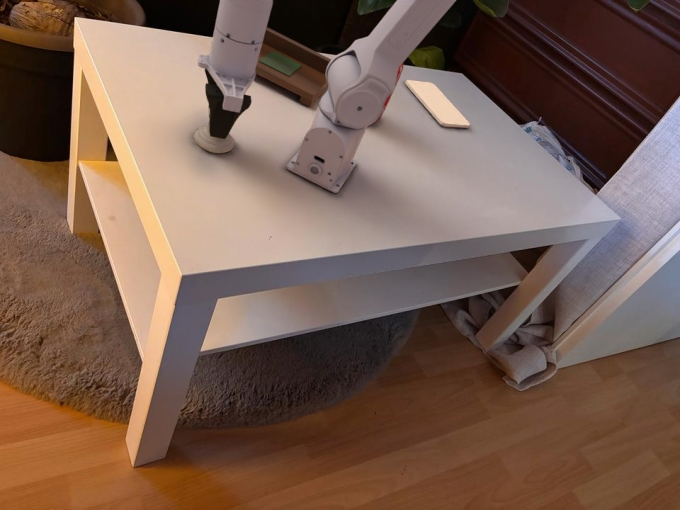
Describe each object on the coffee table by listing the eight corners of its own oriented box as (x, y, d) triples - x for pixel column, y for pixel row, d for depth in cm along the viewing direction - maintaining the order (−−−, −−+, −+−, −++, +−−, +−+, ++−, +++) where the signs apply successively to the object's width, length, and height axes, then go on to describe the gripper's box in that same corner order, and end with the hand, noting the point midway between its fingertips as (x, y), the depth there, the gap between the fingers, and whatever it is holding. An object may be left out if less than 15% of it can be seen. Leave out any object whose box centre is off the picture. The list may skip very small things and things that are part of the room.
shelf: (308, 108, 92) (318, 82, 89) (222, 64, 92) (228, 36, 89) (328, 87, 99) (337, 62, 96) (248, 47, 100) (255, 21, 96)
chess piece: (241, 149, 77) (256, 92, 71) (211, 158, 74) (225, 99, 68) (215, 127, 79) (229, 70, 73) (185, 135, 75) (197, 75, 69)
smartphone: (433, 82, 115) (472, 125, 107) (431, 86, 116) (470, 128, 107) (404, 79, 111) (442, 123, 103) (403, 82, 112) (441, 126, 103)
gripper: (204, -4, 69) (186, 92, 78) (206, 53, 59) (186, 155, 68) (259, 12, 72) (236, 103, 81) (270, 68, 62) (243, 165, 71)
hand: (217, 127), depth 75 cm, fingers closed on chess piece, 3 cm apart
